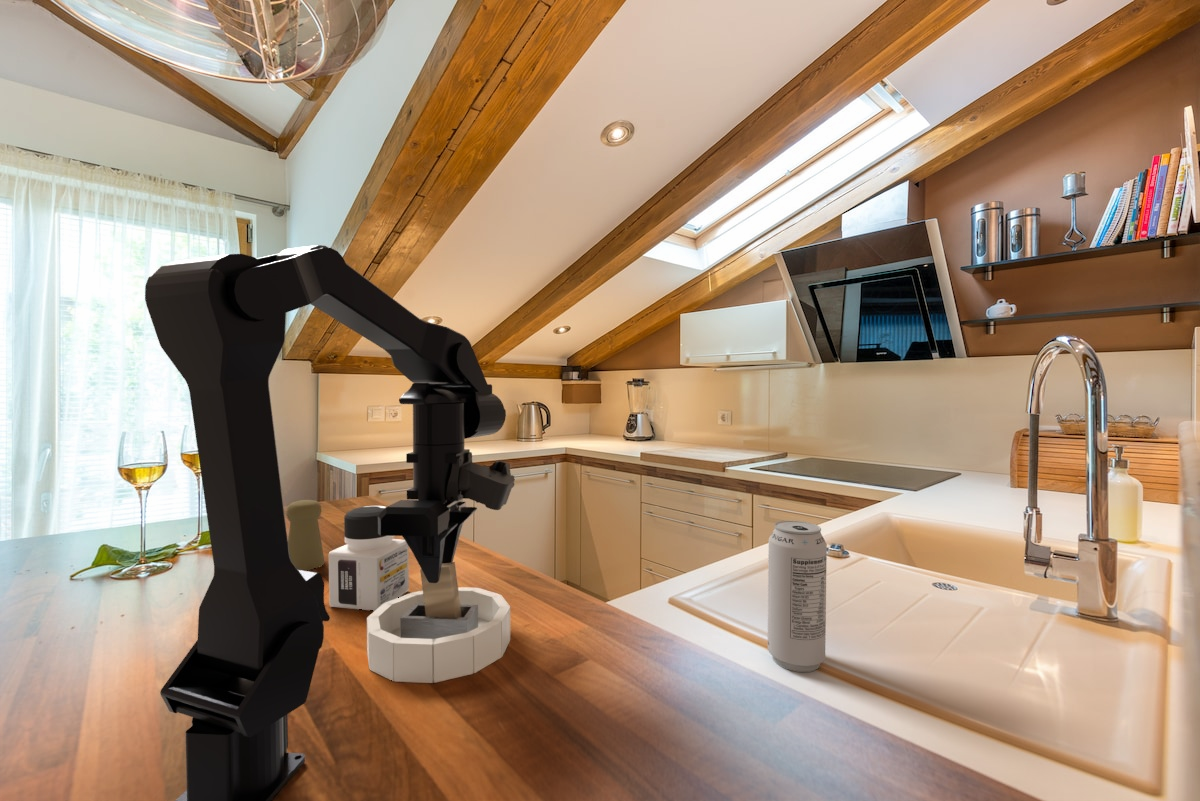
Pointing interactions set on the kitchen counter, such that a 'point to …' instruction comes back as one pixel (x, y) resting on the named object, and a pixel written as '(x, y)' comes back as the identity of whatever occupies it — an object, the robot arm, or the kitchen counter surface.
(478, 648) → the white faceted bowl
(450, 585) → the wooden block
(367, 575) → the container
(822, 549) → the energy drink can
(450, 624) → the open rectangular box
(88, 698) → the kitchen counter surface
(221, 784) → the robot arm
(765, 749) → the kitchen counter surface
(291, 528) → the cork
